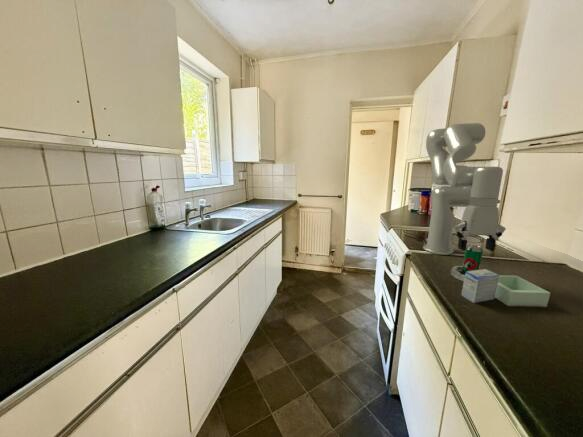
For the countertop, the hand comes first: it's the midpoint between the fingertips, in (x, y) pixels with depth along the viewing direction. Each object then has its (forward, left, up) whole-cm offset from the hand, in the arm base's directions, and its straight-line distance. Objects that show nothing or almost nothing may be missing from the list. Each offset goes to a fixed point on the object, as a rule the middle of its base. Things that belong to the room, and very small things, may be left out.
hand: (475, 249), depth 83 cm
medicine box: (+14, -7, -11) cm, 19 cm away
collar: (-1, 0, -11) cm, 11 cm away
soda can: (-1, 0, -11) cm, 11 cm away
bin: (+12, +4, -11) cm, 17 cm away
